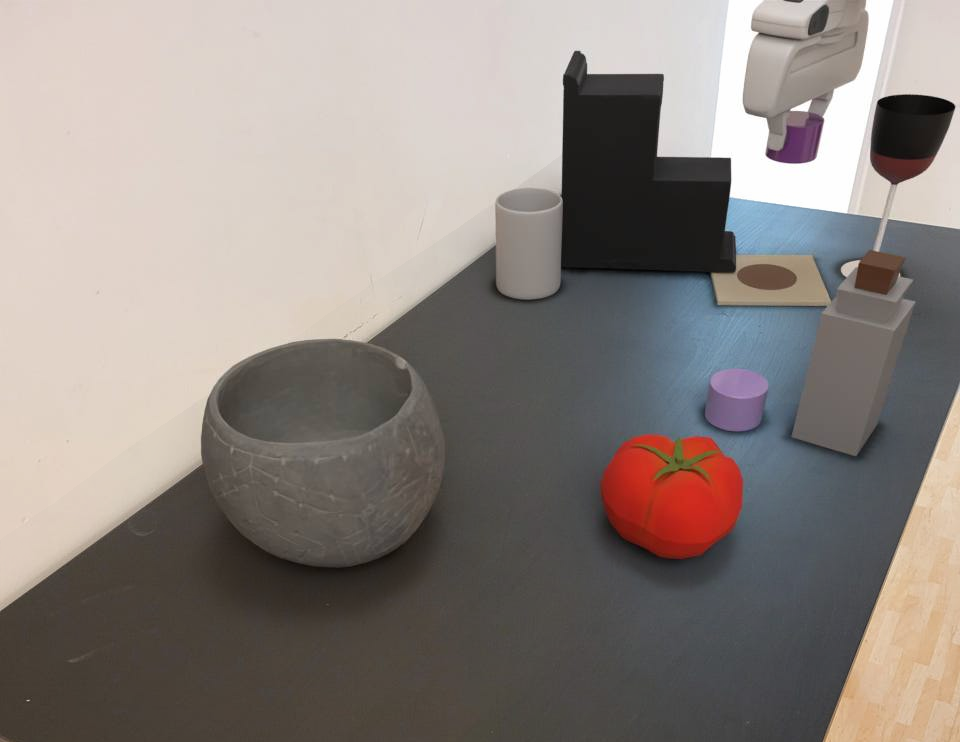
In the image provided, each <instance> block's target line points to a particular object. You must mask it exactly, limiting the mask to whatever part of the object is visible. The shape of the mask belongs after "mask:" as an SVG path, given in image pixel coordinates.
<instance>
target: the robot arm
mask: <svg viewBox="0 0 960 742" xmlns="http://www.w3.org/2000/svg"><path fill="white" fill-rule="evenodd" d="M866 7H867V0H762V1H761V2H759V4H758V5H757V6H756V7H755V8H754V10H753V12H752V15H751V21H750V30H751V31H752V32H755V33H757V34H756V35H755V36H754V37H753V39H752V41H751V43H750V47H749V50H748V55H747V59H746V66H745V74H744V81H743V91H742V106H743V110H744V111H745V113H746V115H750V116H754V117H759V118H763V119H766V123H767V129H768V134H769V132H770V134H769V140H768V139H767V140H768V148H769V149H772V150H776V151H779V150H781V149H783V148H785V147H786V146H787V145H788V139H789V134H790V132H788V131H786V119H788V118H789V115H790V111H792V109H794V108H796V107H799V106H801V105H803V104H805V103H808V102H809V101H810V104H809V107H808V110H807V112H811V113H815V114H818V115H820V116H822V117H823V118H824V116H825V114H826V112H827V110H828V107H829V106H830V104H831V102H832V99H833V98H834V97H833V96H834V92H835V90H836V89H838V88H840V87H843V86H844V85H847V84H849V83H852V82H853V81H855V80H856V79H857V78H858V75H859V73H860V71H861V69H862V65H863V60H864V54H865V50H866V49H865V48H866V44H867V37H868V31H869V23H870V17H869V13H868V10H866Z"/></svg>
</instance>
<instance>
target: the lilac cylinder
mask: <svg viewBox="0 0 960 742" xmlns="http://www.w3.org/2000/svg"><path fill="white" fill-rule="evenodd" d="M769 384H770V383H769V381H768V380H767V379H766V378H765V377H764V376H763V375H762V374H760V373H758V372H756V371H752V370H750V369H745V368H727V369H722V370H719V371H717V372H715V373H714V374H712V376H711V377H710V379H709V383H708V390H707V394H706V395H707V396H706V403H705V408H704V417H705V419H706V421H707V422H708V423H709V424H710V425H711V426H713V427H715V428H717V429H720V430H724V431H728V432H746V431H750V430H754V429H755V428H756V427H758V426H759V425H760V424H761V423H762V420H763V417H764V416H763V415H764V410H765V405H766V401H767V398H768V391H769V387H770V386H769Z"/></svg>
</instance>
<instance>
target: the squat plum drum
mask: <svg viewBox="0 0 960 742" xmlns="http://www.w3.org/2000/svg"><path fill="white" fill-rule="evenodd" d="M824 125H825V118H824V116H823V117H822V116H820V115H818V114H815V113H811V112H808V111H804V110H790V115H789V118H788V119H786V131H788V132H790V134H789V139H788V145H787V146H786V147H785V148H783V149H781V150H779V151H776V150H772V149H769V148H768V140H769V134H770V132H769V131H768V135H767V139H766V140H767V141H766V147H765V151H764V155H765V157H766V158H768V159H769V160H771V161H774V162H776V163H781V164H791V165H797V164H806V163H811V162H813V161H815V160H816V159H817V157H818V153H819V148H820V144H821V139H822V134H823V130H824Z"/></svg>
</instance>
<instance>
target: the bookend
mask: <svg viewBox="0 0 960 742" xmlns="http://www.w3.org/2000/svg"><path fill="white" fill-rule="evenodd" d="M664 82H665V75H664V73H588V63H587V57H586V55H585V54H584V53H582V51H581V50H574V51H573V53H572V55H571V57H570V59H569V62H568V65H567V67H566V69H565V71H564V73H563V75H562V86H563V92H562V94H563V95H562V96H563V97H562V98H563V99H562V143H561V144H562V145H561V147H562V149H561V195H560V196H561V198H562V200H563V215H562V245H561V268H575V269H577V268H581V269H612V270H613V269H615V270H638V271H639V270H643V271H666V272H667V271H676V272H704V273H705V272H707V273H710V272H735V271H736V255H737V244H736V243H737V239H736V238H737V237H736V235H735V233H734V231H731V230H726V226H727V219H728V211H729V204H730V196H731V189H732V158H731V157H716V156H715V157H713V156H712V157H709V156H703V157H702V156H701V157H700V156H658V148H659V137H660V135H659V134H660V125H661V124H660V123H661V110H662V105H663V97H664V96H663V95H664Z"/></svg>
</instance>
